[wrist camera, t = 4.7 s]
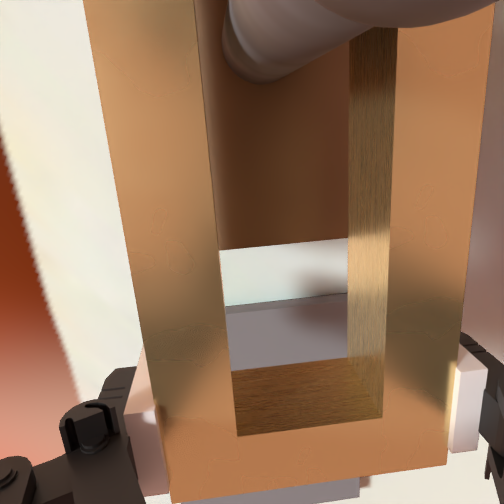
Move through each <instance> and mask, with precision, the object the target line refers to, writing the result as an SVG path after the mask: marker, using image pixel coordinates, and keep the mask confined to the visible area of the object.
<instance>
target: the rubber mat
mask: <svg viewBox="0 0 504 504" xmlns="http://www.w3.org/2000/svg"><path fill="white" fill-rule="evenodd" d="M225 313H226V323H227V332H228V342H229V352H230V362H231V371H236V370H245V369H253V368H261V367H270V366H278V365H287V364H295V363H303V362H312V361H320V360H328V359H337V358H345V357H347V329H348V293H344V294H335V295H326V296H317V297H308V298H299V299H290V300H281V301H272V302H263V303H254V304H245V305H235V306H226V307H225ZM359 493H360V477H357V478H350V479H343V480H336V481H329V482H322V483H315V484H308V485H301V486H294V487H287V488H280V489H273V490H266V491H259V492H252V493H245V494H238V495H231V496H224V497H217V498H210V499H203V500H196V501H189V502H182V503H181V504H317V503H324V502H330V501H337V500H343V499H350V498H357V497H359Z"/></svg>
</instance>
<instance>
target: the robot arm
mask: <svg viewBox="0 0 504 504" xmlns="http://www.w3.org/2000/svg"><path fill="white" fill-rule="evenodd" d="M59 430H60V433H61V437H62V440H63V444H64V448H65V452H66V453H65V454H63V455H62V456H60V457H57V458H55V459H53V460H50V461H48V462H45V463H42V464H39V465H37V466H34V467H32V465H31V462H30V461H29V460H28V459H27V458H25V457H21V456H14V457H7V458H4V459H1V460H0V504H146V502H145V499H144V497H146V496H153V495H160V494H168V493H169V480H168V474H167V469H166V463H165V457H164V452H163V446H162V440H161V434H160V429H159V423H158V417H157V412H156V406H155V405H154V400H153V394H152V389H151V383H150V377H149V372H148V366H147V361H146V355H145V349H144V344H143V348H142V351H141V355H140V358H139V362H138V365H137V366H134V367H126V368H117V369H115V370H114V371H113V372H112V373H111V374H110V375H109V376H108V377H107V378H106V379H105V382H104V385H103V387H102V392H100V395H99V397H98V399H94V400H90V401H86V402H83V403H81V404H79V405H77V406H75V407H73V408H72V409H70V410H69V411H68V412H67V413H65V415H64V416H63V417H62V419H61V420H60V425H59ZM479 433H480V434H481V435H482V436H483V437H484V439H485V440H486V441H487V442H488V443H489V447H488V454H487V460H486V467H485V479H488V480H489V477H490V473H491V472H492V475H493V479H494V483H495V486H496V490H497V494H498V497H499V501H500V504H504V365H503V364H502V363H501V362H500V361H498V360H497V359H496V358H495V357H494V356H492V355H491V354H490V353H489V352H486V350H485V349H484V348H483V347H482V346H480V345H478V343H477V342H476V341H474V340H473V339H472V338H471V337H470V336H469V335H467V334H465V333H463V332H461V331H460V340H459V350H458V359H457V367H456V370H455V380H454V389H453V399H452V408H451V418H450V428H449V437H448V449H449V450H450V452H451V453H459V452H466V451H474V450H477V447H478V440H479Z"/></svg>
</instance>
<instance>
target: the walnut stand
mask: <svg viewBox="0 0 504 504" xmlns="http://www.w3.org/2000/svg"><path fill="white" fill-rule="evenodd" d="M496 1H498V0H194V4H195V14H196V24H197V34H198V44H199V54H200V64H201V74H202V84H203V94H204V104H205V114H206V124H207V134H208V144H209V153H210V163H211V173H212V183H213V193H214V203H215V213H216V223H217V233H218V243H219V251H220V250H230V249H240V248H250V247H260V246H270V245H280V244H290V243H300V242H310V241H320V240H330V239H340V238H348V154H349V40H351V39H353V38H354V37H356V36H358V35H360V34H362V33H363V32H365V31H367V30H369V29H371V28H372V27H374V26H376V27H382V28H415V27H423V26H430V25H435V24H438V23H442V22H446V21H449V20H452V19H456V18H459V17H463V16H466V15H469V14H471V13H473V12H475V11H478V10H480V9H482V8H484V7H487V6H489V5H491V4H493V3H495V2H496Z"/></svg>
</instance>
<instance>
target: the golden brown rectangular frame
mask: <svg viewBox="0 0 504 504" xmlns="http://www.w3.org/2000/svg"><path fill="white" fill-rule="evenodd" d="M83 4H84V10H85V15H86V21H87V27H88V32H89V38H90V44H91V49H92V55H93V61H94V66H95V72H96V78H97V83H98V89H99V95H100V100H101V106H102V112H103V117H104V123H105V129H106V134H107V140H108V145H109V151H110V157H111V162H112V168H113V174H114V179H115V185H116V191H117V196H118V202H119V208H120V213H121V219H122V225H123V230H124V236H125V242H126V247H127V253H128V259H129V264H130V270H131V276H132V281H133V287H134V293H135V298H136V304H137V310H138V315H139V321H140V327H141V332H142V338H143V344H144V349H145V355H146V361H147V366H148V372H149V377H150V383H151V389H152V394H153V400H154V405H155V406H156V412H157V417H158V423H159V429H160V434H161V440H162V446H163V452H164V457H165V463H166V469H167V474H168V480H169V491H170V496H171V502H172V504H175V503H182V502H189V501H196V500H203V499H210V498H217V497H224V496H231V495H238V494H245V493H252V492H259V491H266V490H273V489H280V488H287V487H294V486H301V485H308V484H315V483H322V482H329V481H336V480H343V479H350V478H357V477H364V476H371V475H378V474H385V473H392V472H399V471H406V470H413V469H420V468H427V467H434V466H441V465H446V463H447V454H448V437H449V428H450V418H451V408H452V399H453V389H454V380H455V370H456V367H457V359H458V350H459V340H460V331H461V321H462V312H463V302H464V293H465V283H466V274H467V265H468V255H469V246H470V236H471V227H472V217H473V208H474V198H475V189H476V179H477V170H478V160H479V151H480V142H481V132H482V123H483V113H484V104H485V94H486V85H487V75H488V66H489V56H490V47H491V37H492V28H493V19H494V9H495V3H493V4H491V5H489V6H487V7H484V8H482V9H480V10H478V11H475V12H473V13H471V14H469V15H466V16H463V17H459V18H456V19H452V20H449V21H446V22H442V23H438V24H435V25H430V26H423V27H415V28H382V27H376V26H374V27H372V28H371V29H369V30H367V31H365V32H363V33H362V34H360V35H358V36H356V37H354V38H353V39H351V40H349V154H348V329H347V357H345V358H337V359H328V360H320V361H312V362H303V363H295V364H287V365H278V366H270V367H261V368H253V369H245V370H236V371H231V362H230V352H229V342H228V332H227V323H226V313H225V303H224V293H223V283H222V273H221V263H220V253H219V243H218V233H217V223H216V213H215V203H214V193H213V183H212V173H211V163H210V153H209V144H208V134H207V124H206V114H205V104H204V94H203V84H202V74H201V64H200V54H199V44H198V34H197V24H196V14H195V4H194V0H83Z"/></svg>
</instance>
